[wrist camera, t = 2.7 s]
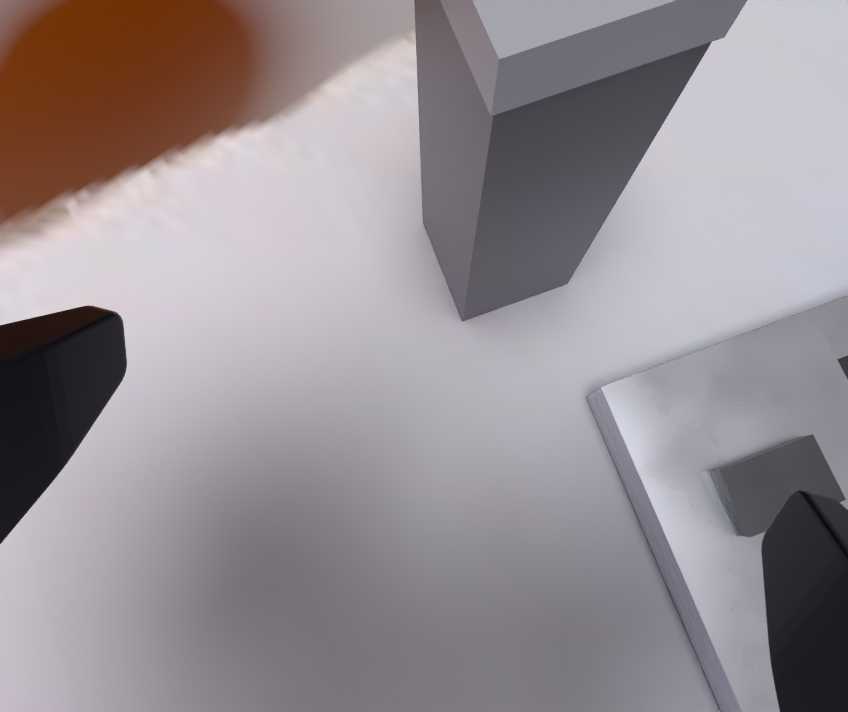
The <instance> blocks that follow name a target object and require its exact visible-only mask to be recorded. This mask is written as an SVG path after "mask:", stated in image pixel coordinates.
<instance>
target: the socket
mask: <svg viewBox="0 0 848 712" xmlns="http://www.w3.org/2000/svg"><path fill="white" fill-rule="evenodd" d="M586 398H587V400H588V403H589V405H590V407H591V410H592V412H593V414H594V417H595V419H596V421H597V424H598V426H599V428H600V431H601V433H602V435H603V438H604V440H605V442H606V445H607V447H608V449H609V452H610V454H611V456H612V459H613V461H614V463H615V466H616V468H617V470H618V473H619V475H620V477H621V480H622V482H623V484H624V487H625V489H626V491H627V494H628V496H629V498H630V501H631V503H632V505H633V508H634V510H635V512H636V515H637V517H638V519H639V522H640V524H641V526H642V529H643V531H644V533H645V536H646V538H647V540H648V543H649V545H650V547H651V550H652V552H653V554H654V557H655V559H656V561H657V564H658V566H659V568H660V571H661V573H662V575H663V578H664V580H665V582H666V585H667V587H668V589H669V592H670V594H671V596H672V599H673V601H674V603H675V606H676V608H677V610H678V613H679V615H680V617H681V620H682V622H683V624H684V627H685V629H686V631H687V634H688V636H689V638H690V641H691V643H692V645H693V648H694V650H695V652H696V655H697V657H698V659H699V662H700V664H701V666H702V669H703V671H704V673H705V676H706V678H707V680H708V683H709V685H710V687H711V690H712V692H713V694H714V696H715V699H716V701H717V703H718V706H719V708H720V710H721V712H780V710H779V705H778V700H777V695H776V690H775V685H774V679H773V674H772V668H771V661H770V653H769V644H768V631H767V618H766V606H765V593H764V581H763V568H762V555H761V546H762V540H763V537H764V534H765V532H766V530H767V529H768V527H769V526H770V524H771V523H772V521H773V520H774V518H775V517H776V515H777V514H778V512H779V511H780V509H781V508H782V506H783V505H784V503H785V502H786V500H787V499H788V497H789V496H790V495H791V494H792V493H793V492H794V491H796V490H800V489H804V490H808V491H812V492H815V493H819V494H823V495H827V496H830V497H832V498H834V499H836V500H837V501H838V502H839V503H841V504H842V505H843V506H844V507H845V508H846V509H847V510H848V296H845V297H842V298H839V299H837V300H834V301H831V302H829V303H826V304H823V305H821V306H818V307H815V308H812V309H810V310H807V311H804V312H802V313H799V314H796V315H794V316H791V317H788V318H785V319H783V320H780V321H777V322H775V323H772V324H769V325H767V326H764V327H761V328H758V329H756V330H753V331H750V332H748V333H745V334H742V335H740V336H737V337H734V338H732V339H729V340H726V341H723V342H721V343H718V344H715V345H713V346H710V347H707V348H705V349H702V350H699V351H696V352H694V353H691V354H688V355H686V356H683V357H680V358H678V359H675V360H672V361H669V362H667V363H664V364H661V365H659V366H656V367H653V368H651V369H648V370H645V371H642V372H640V373H637V374H634V375H632V376H629V377H626V378H624V379H621V380H618V381H616V382H613V383H610V384H607V385H605V386H602V387H600V388H599V389H597V390H596V391H594V392H593V393H592V394H590V395H589V396H588V397H586Z"/></svg>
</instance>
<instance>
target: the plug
mask: <svg viewBox="0 0 848 712" xmlns="http://www.w3.org/2000/svg"><path fill="white" fill-rule="evenodd" d="M746 1H747V0H415V25H416V26H415V27H416V52H417V78H418V104H419V130H420V156H421V182H422V208H423V223H424V226H425V229H426V231H427V234H428V236H429V239H430V241H431V244H432V246H433V249H434V251H435V254H436V256H437V259H438V261H439V264H440V266H441V269H442V272H443V274H444V277H445V279H446V282H447V284H448V287H449V289H450V292H451V294H452V297H453V299H454V302H455V304H456V307H457V309H458V312H459V315H460V317H461V320H462V321H464V320H467V319H470V318H473V317H475V316H478V315H481V314H484V313H487V312H489V311H492V310H495V309H498V308H501V307H503V306H506V305H509V304H512V303H515V302H517V301H520V300H523V299H526V298H528V297H531V296H534V295H537V294H540V293H542V292H545V291H548V290H551V289H554V288H556V287H559V286H562V285H565V284H567V283H568V282H569V280H570V278H571V277H572V275H573V273H574V272H575V270H576V268H577V267H578V265H579V263H580V262H581V260H582V258H583V257H584V255H585V253H586V251H587V250H588V248H589V246H590V245H591V243H592V241H593V240H594V238H595V236H596V235H597V233H598V231H599V230H600V228H601V226H602V225H603V223H604V221H605V220H606V218H607V216H608V215H609V213H610V211H611V210H612V208H613V206H614V205H615V203H616V201H617V200H618V198H619V196H620V195H621V193H622V191H623V190H624V188H625V186H626V185H627V183H628V181H629V180H630V178H631V176H632V174H633V173H634V171H635V169H636V168H637V166H638V164H639V163H640V161H641V159H642V158H643V156H644V154H645V153H646V151H647V149H648V148H649V146H650V144H651V143H652V141H653V139H654V138H655V136H656V134H657V133H658V131H659V129H660V128H661V126H662V124H663V123H664V121H665V119H666V118H667V116H668V114H669V113H670V111H671V109H672V108H673V106H674V104H675V103H676V101H677V99H678V97H679V96H680V94H681V92H682V91H683V89H684V87H685V86H686V84H687V82H688V81H689V79H690V77H691V76H692V74H693V72H694V71H695V69H696V67H697V66H698V64H699V62H700V61H701V59H702V57H703V56H704V54H705V52H706V51H707V49H708V47H709V46H710V44H711V42H712V41H715V40H718V39H721V38H724V37H725V35H726V34H727V32H728V30H729V29H730V27H731V26H732V24H733V22H734V21H735V19H736V18H737V16H738V14H739V13H740V11H741V9H742V8H743V6H744V5H745V3H746Z"/></svg>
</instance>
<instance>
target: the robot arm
mask: <svg viewBox="0 0 848 712" xmlns="http://www.w3.org/2000/svg"><path fill="white" fill-rule="evenodd" d="M126 366H127V359H126V348H125V337H124V326H123V320H122V318H121V316H120V315H119V314H118V313H116V312H114V311H110V310H106V309H103V308H99V307H95V306H83V307H79V308H74V309H70V310H66V311H61V312H57V313H52V314H48V315H44V316H39V317H35V318H31V319H26V320H22V321H17V322H13V323H9V324H4V325H0V544H1V543H2V542H3V540H4V539H5V538H6V537H7V536H8V534H9V533H10V532H11V531H12V530H13V528H14V527H15V526H16V525H17V524H18V522H19V521H20V520H21V519H22V518H23V516H24V515H25V514H26V513H27V512H28V510H29V509H30V508H31V507H32V506H33V504H34V503H35V502H36V501H37V500H38V498H39V497H40V496H41V495H42V494H43V492H44V491H45V490H46V489H47V488H48V486H49V485H50V484H51V483H52V482H53V480H54V479H55V478H56V477H57V475H58V474H59V473H60V471H61V470H62V469H63V468H64V466H65V465H66V464H67V462H68V461H69V459H70V458H71V457H72V455H73V454H74V452H75V451H76V449H77V448H78V446H79V445H80V443H81V442H82V440H83V439H84V437H85V436H86V434H87V433H88V431H89V430H90V428H91V427H92V425H93V424H94V422H95V421H96V419H97V418H98V416H99V415H100V413H101V412H102V410H103V409H104V407H105V406H106V404H107V403H108V401H109V400H110V398H111V397H112V395H113V394H114V392H115V391H116V389H117V388H118V386H119V385H120V383H121V381H122V380H123V377H124V375H125V372H126ZM761 555H762V568H763V581H764V593H765V606H766V618H767V631H768V644H769V653H770V661H771V668H772V674H773V679H774V685H775V690H776V695H777V700H778V705H779V710H780V712H848V510H847V509H846V508H845V507H844V506H843V505H842V504H841V503H839V502H838V501H837V500H836V499H834V498H832V497H830V496H827V495H823V494H819V493H815V492H812V491H808V490H804V489H800V490H796V491H794V492H793V493H792V494H791V495H790V496H789V497H788V499H787V500H786V502H785V503H784V505H783V506H782V508H781V509H780V511H779V512H778V514H777V515H776V517H775V518H774V520H773V521H772V523H771V524H770V526H769V527H768V529H767V530H766V532H765V534H764V537H763V540H762V546H761Z"/></svg>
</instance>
